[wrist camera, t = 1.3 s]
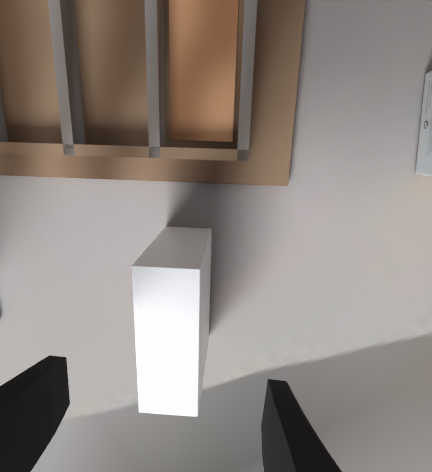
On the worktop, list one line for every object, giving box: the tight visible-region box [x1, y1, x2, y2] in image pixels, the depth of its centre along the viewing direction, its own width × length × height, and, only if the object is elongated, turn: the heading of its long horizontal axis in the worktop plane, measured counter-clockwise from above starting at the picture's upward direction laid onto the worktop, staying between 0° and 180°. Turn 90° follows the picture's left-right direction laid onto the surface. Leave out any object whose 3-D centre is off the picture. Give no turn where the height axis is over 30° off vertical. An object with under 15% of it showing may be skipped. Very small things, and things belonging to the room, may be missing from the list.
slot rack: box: [0, 0, 306, 186], centre depth 16 cm, size 20×14×2 cm
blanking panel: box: [132, 226, 212, 417], centre depth 18 cm, size 3×8×7 cm, turn 178°
